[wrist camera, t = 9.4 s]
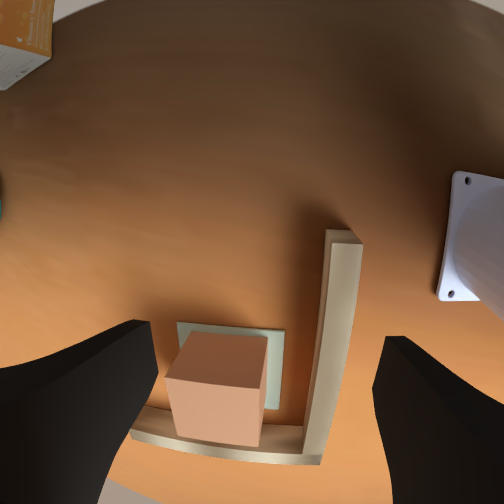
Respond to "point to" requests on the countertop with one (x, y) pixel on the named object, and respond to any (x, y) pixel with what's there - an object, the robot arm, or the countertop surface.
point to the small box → (24, 38)
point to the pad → (273, 335)
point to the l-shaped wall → (321, 382)
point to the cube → (219, 388)
